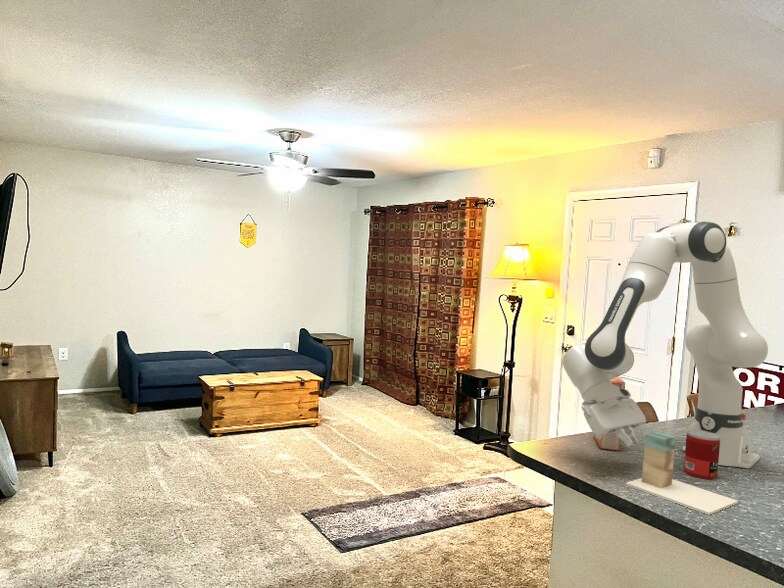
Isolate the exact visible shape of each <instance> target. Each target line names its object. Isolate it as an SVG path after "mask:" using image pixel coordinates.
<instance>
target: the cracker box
mask: <svg viewBox="0 0 784 588" xmlns="http://www.w3.org/2000/svg"><path fill="white" fill-rule="evenodd" d="M610 381H611V383H612V384H613V385H615V386H617V387H619V388H622V389H626V381H624V380H623V379H622V378H620V377H619V376H618V377H615V378H613V379H610ZM592 435H593V438H594V440H595V442H596V444H597V445H598V447H599V449H601V450H602V449H603V450H607V449H608V451H615V450H616V451H617V452H620V448H621V447H620V446H621V439H620V438H619V437H617V435H616V434H615V433H610V434H605V435H600V436H597V435H595V434H594V433H593V434H592Z"/></svg>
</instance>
